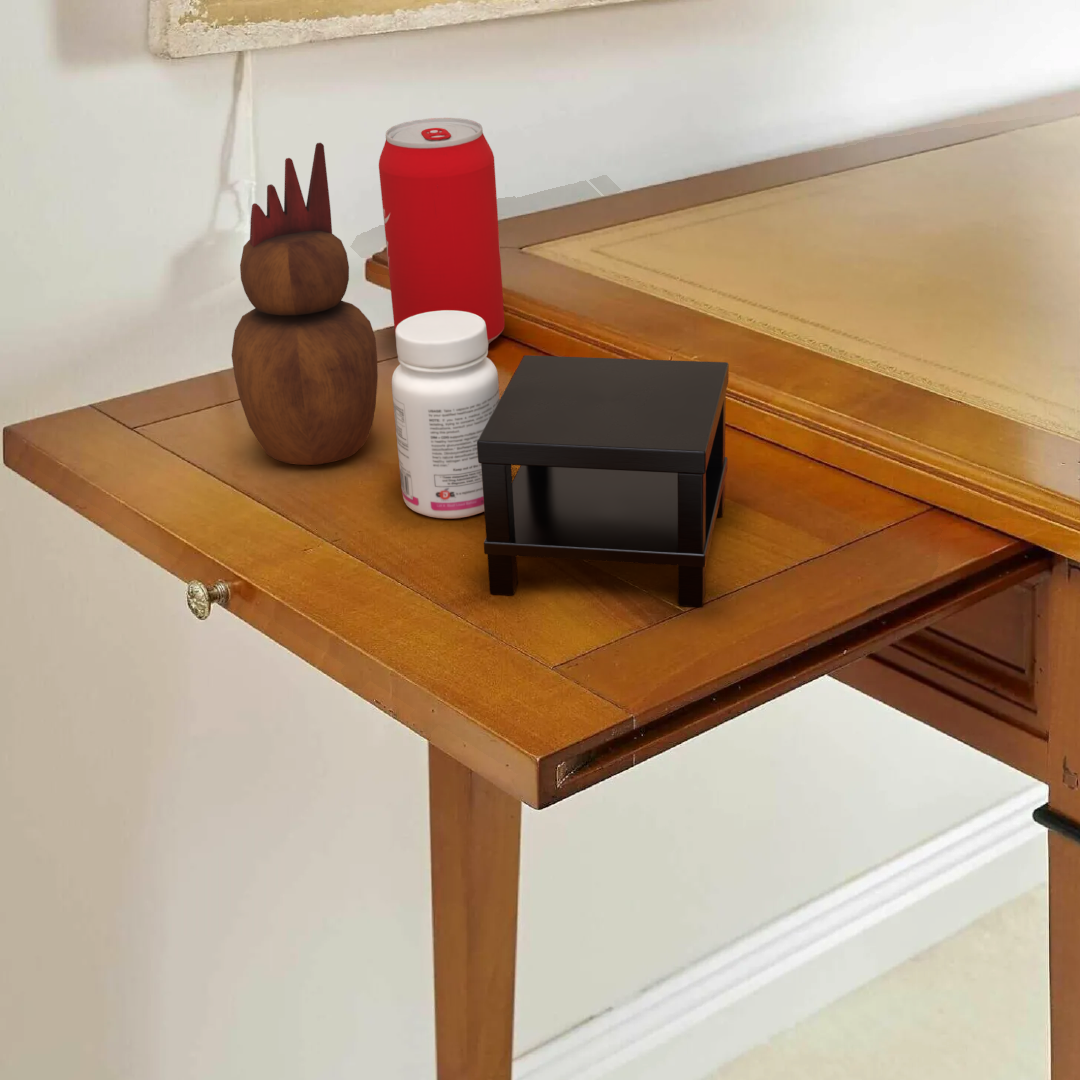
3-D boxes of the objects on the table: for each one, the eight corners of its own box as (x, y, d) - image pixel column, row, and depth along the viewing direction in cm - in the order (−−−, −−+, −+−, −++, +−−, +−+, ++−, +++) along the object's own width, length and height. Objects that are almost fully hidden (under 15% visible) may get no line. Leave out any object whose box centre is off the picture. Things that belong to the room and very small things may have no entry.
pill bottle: (524, 484, 76) (514, 314, 72) (473, 529, 72) (460, 352, 68) (436, 467, 78) (422, 300, 74) (383, 510, 74) (365, 336, 70)
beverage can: (491, 315, 96) (478, 110, 90) (517, 352, 90) (505, 136, 85) (386, 329, 94) (366, 122, 89) (406, 368, 89) (386, 150, 83)
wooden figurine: (386, 423, 83) (358, 128, 76) (384, 473, 78) (353, 162, 71) (252, 432, 83) (211, 137, 75) (241, 482, 78) (196, 171, 70)
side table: (727, 506, 73) (728, 361, 70) (704, 609, 65) (705, 451, 62) (531, 496, 75) (523, 354, 72) (486, 595, 67) (476, 441, 64)
